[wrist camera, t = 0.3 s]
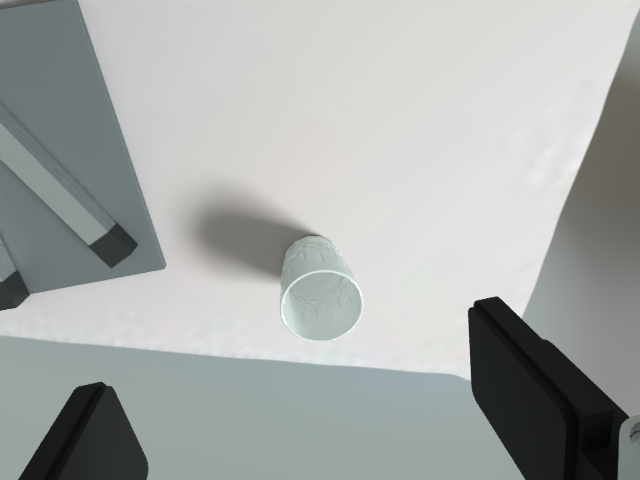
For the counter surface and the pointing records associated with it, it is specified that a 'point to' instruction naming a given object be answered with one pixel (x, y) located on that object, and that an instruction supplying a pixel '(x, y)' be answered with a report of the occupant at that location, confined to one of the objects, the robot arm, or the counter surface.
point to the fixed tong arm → (10, 283)
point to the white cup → (318, 291)
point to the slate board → (65, 150)
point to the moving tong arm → (62, 192)
